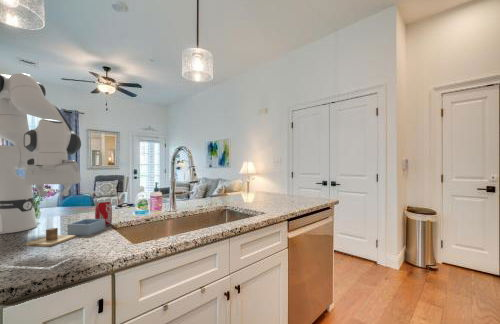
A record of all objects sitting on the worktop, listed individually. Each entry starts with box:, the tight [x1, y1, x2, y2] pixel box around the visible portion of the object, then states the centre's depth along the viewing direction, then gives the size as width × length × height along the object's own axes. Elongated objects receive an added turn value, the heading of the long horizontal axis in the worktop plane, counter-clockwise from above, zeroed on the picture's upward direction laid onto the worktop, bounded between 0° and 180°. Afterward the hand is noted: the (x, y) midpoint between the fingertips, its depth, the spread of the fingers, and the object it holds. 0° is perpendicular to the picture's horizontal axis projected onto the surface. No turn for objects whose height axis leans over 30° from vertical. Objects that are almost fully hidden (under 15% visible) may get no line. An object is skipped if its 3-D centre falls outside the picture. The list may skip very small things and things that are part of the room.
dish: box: [67, 218, 106, 236], centre depth 102 cm, size 10×10×5 cm
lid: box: [25, 227, 77, 247], centre depth 90 cm, size 10×10×5 cm
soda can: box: [94, 199, 113, 227], centre depth 114 cm, size 7×7×12 cm
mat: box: [24, 236, 77, 248], centre depth 90 cm, size 11×11×1 cm
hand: (53, 195), depth 90 cm, fingers open, 8 cm apart
